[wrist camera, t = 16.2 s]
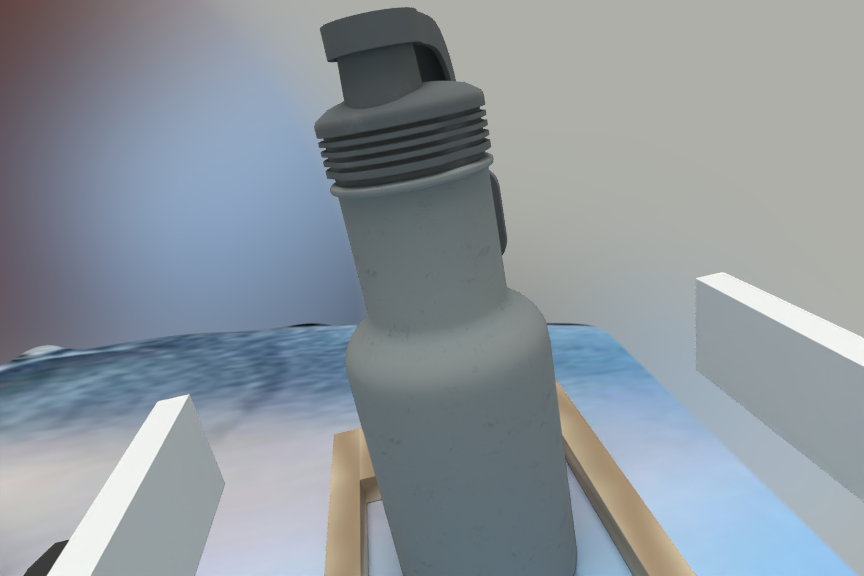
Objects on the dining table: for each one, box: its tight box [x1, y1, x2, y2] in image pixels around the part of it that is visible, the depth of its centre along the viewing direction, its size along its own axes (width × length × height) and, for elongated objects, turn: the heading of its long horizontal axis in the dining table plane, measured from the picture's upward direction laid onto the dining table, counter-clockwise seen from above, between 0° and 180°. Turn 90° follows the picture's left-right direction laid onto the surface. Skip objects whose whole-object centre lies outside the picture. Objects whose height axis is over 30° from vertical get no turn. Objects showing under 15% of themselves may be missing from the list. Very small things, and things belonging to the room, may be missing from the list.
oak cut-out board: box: [324, 381, 696, 576], centre depth 33 cm, size 18×20×2 cm
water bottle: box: [314, 7, 577, 576], centre depth 26 cm, size 10×10×28 cm
